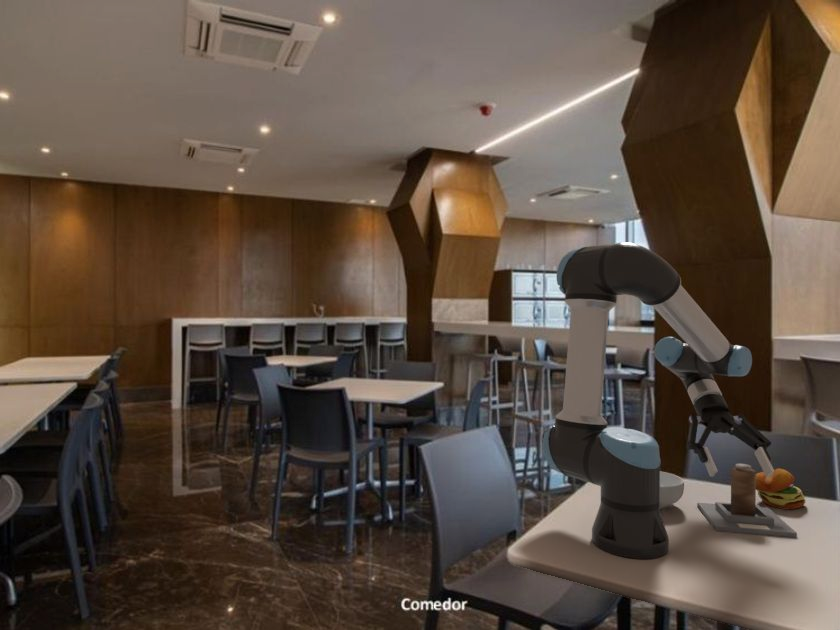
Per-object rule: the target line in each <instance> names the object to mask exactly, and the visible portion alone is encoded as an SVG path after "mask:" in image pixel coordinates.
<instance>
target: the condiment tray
mask: <svg viewBox="0 0 840 630" xmlns="http://www.w3.org/2000/svg"><path fill="white" fill-rule="evenodd" d="M697 508H698V509H699V511H700V512H701V513H702V515H703V516H704V517H705V518H706V519H707V521H708V522H709V523H710V525H711V526H712V528H714V530H715V531H716V532H726V533H739V534H748V535H749V534H752V535H763V536H777V537H787V538H798V533H797V531H795V530H794V529H793V528H792V527H791V526H790V525H788V524H787V523H786V522H785V520H783V519H782V518H780V517H779V516H778V515H777V514H776V513H775V512H773V510H771V509H770V507H763V506H760V505H758V504H756V505H755V516H744V515H731V502H721V501H720V502H719V501H715V503H709V502H708V503H706V502H697Z"/></svg>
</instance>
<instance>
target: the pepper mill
mask: <svg viewBox="0 0 840 630" xmlns="http://www.w3.org/2000/svg"><path fill="white" fill-rule="evenodd" d="M756 472H757V471H756V470H755V469H752V466H751V465H750V464H746V463H735V466H732V467H731V468H730V503H731V515H744V516H755V505H757V504H756V500H757V499H756V497H757V495H756V494H757V493H756V491H757V489H756V474H757V473H756Z"/></svg>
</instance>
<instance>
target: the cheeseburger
mask: <svg viewBox="0 0 840 630" xmlns="http://www.w3.org/2000/svg"><path fill="white" fill-rule="evenodd" d="M794 482H795V476H794V475H793V474H792V473H790V471H787V470H786V469H783V468H775V469H774V472H773V473H772V474H771V475H770V476H769V477H766V475H765V473H764V471H761V472H757V473H756V491H757V495H758V497H759V498H760V499H761V501H762V502H763V503H765V504H766V505H768V506H771V507H773V508H778V509H783V510H792V509H797V508H802V507H804V506H805V504H806V498H805V496H804V494H803V491H802V490H801V488H799V487H797V486H795V485H794V484H793V483H794Z"/></svg>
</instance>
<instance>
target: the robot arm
mask: <svg viewBox="0 0 840 630" xmlns="http://www.w3.org/2000/svg"><path fill="white" fill-rule="evenodd" d="M556 283H557V285H558V286H559V287H558V288H559V289H558V290H560V292H561V293H562V294H563V295H564V296H565V297H564V298H565V299H564V302H565V304H566V305H567V306H568V307H569V309H570V315H569V317H570V318H569V328H568V341H567V355H566V366H565V379H564V392H563V404H562V410H561V411H560V412H559V413H557V414H556V415H555V420H554V423H552V424H550V425H549V426H548V428H547V430H546V431H545V432H544V435H543V439H542V451H543V452H542V453H543V456H544V458H545V461H546V462H547V464H548V465H549V466H550V468H551V469H552V470H554V471H556V472H558V473H560V474H562V475H564V476H566V477H568V478H574V479H577V480H581V481H584V482H587V483H591V484H593V485H596V486H599V487H600V505H599V508H598V510H597V513H596V515H595V519H594V521H593V525H592V528H591V541H592V542H593V544H594V545H595V546H597V547H598V548H599V549H600V550H601V549H602V550H603V551H605V552H607V553H609V554H613V555H616V556H619V557H620V556H621V557H625V558H631V559H641V560H642V559H645V560H647V559H656V558H660V557H663V556H665V555H667V554H668V552H669V542H670V540H669V536H668V533H667V530H666V526H665V523H664V520H663V517H662V514H661V511H660V510H661V509H659V500H660V471H661V462H662V461H661V460H662V459H661V457H660V446H659V444H658V442H657V440H656V439H655V438H654V437H652V436H651V435H649V434H648V433H645V432H643V431H639V430H636V429H632V428H624V427H617V426H614V427H613V426H611V427H608V421H607V420H606V419H605V418H604V417H603V415H602V406H603V404H602V403H603V394H604V393H603V392H604V378H605V377H604V376H605V366H606V354H607V353H606V352H607V338H608V325H609V316H610V315H609V314H610V312H611V310H612V309H613V308H614V307H616V306H617V297H618V296H621V295H622V296H623V295H627V296H633V297H635V298H638V299H639V300H640V302H642V303H643V304H644V305H646V306H649V307H650V306H651V307H652V308H654V310H655V311H656V312H657V313H658V314H659V315H660V316H661V317H662V319H664V320H665V321H666V323H667V324H668V325H669V327H671V328H672V329H673V330H674V331H675V332H676V333H677V335H678V336H679V337H680V338H681V339H682V340H683V341H684V342H683V341H681V340H680V339H678V338H676V337H675V336H665V337H663V338H661V339H660V340H658V341H657V343H656V344H655V346H654V349H653V355H654V358H655V359H656V360H657V361H658V362H659V363H660V364H661V366H663V367H665V368H666V369H667V370H669V371H670V372H671V373H673V374H674V375H676V376H677V377H678V378H679V379H680V380H681V382H682V383H683V386H684V387H685V390H686V391H687V394H688V396H689V398H690V400H691V403H692V405H693V408H694V411H695V412H696V413H694V412H693V413H691V414H690V416H689V417H688V420H687V421H688V424H689V429H688V433H687V442H686V449H687V450H688V451H690V450H692V452H693V454H696V455H697V457H698V458H699V460H700V462H701V463H703V464H704V466H705V468H706V470H707V473H708V475H709V477H711V478H712V477H715V475H717V473H718V471H719V470H718V468H717V466H716V464H715V462H714V459H713V457H712V455H711V452H710V450H709V448H708V446H705V444H706V441H707V440H708V438H709V436H710V435H711V432H713V433H714V434H718V433H719V434H720V433H722V434H729V435H731V436H734V437H736V438H737V439H739V440H740V441H741V442H743V443H745V444H746V445H747V446H749V448H752V449H753V450H754V452H753V453H754V455H755V458H756V459H757V461H758V463H759V466H760V468H761V469H762V472H764V473H765V475H766V477H769V476H770V475H771V474H772V473H773V472H774V470H775V469H774V466H773V465H772V463H771V462H770V461H771V456H770V454H769V452H768V451H767V449H768V448H769V447H771V445H772V442H771V440H770V439H768V438H767V437H766V436H765V435H764V434H763V433H761V432H760V431H759V430H758V429H757V427H756V426H754V425H753V424H752V423H751V422H750V421H749V420H747V418H746V417H745V415H744V413H739V414H738V415H734V416H733V415H732V414H731V413H730V411H729V406H728V404H727V402H726V400H725V398H724V396H723V393H722V391H721V390H720V388H719V386H718V383H717V382H716V380H715V378H714V375H717V376H727V377H745V376H747V375H748V374H749V372H750V371H751V368H752V364H753V357H752V352H751V350H750V349H749V348H748V347H746V346H743V345H738V344H735V345H733V344H731V342H730V341H729V339H727V338H726V337H725V336H724V334H723V333H722V332H721V330H720V329H719V328H718V327H717V326H716V324H714V322H713V321H712V320H711V318H710V317H709V316H708V315H707V314H706V312H705V311H703V309H702V308H701V307H700V305H698V303H697V302H696V301H695V299H693V297H692V296H691V294H689V293H688V292H687V290H686V289H685V288H684V287H683V285H682V278H681V276H680V274H679V273H678V271H676V269H674V267H673V266H672V265H671V264H670V262H668V261H666V260H665V259H664V258H663V257H662V256H660V255H659V254H658V253H655V252H654V251H653V250H651V249H648V248H646V247H644V246H642V245H639V244H636V243H633V242H624V241H623V242H616V243H611V244H601V245H590V246H587V245H586V246H582V247H580V248H576V249H575V248H574V249H572V250H570V251H568V252H567V253H566V254H565V255H564V256H563V257H562V258H561V260H560V262H559V263H558V267H557V270H556ZM699 424H701V425H703V426H704V427H705V428H704V430H703V431H702V432H703V433H702V434H701V436H700V438H699V440H698V442H696V440H697V434H698V433H697V432H698V426H699ZM732 428H733V429H732Z"/></svg>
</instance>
